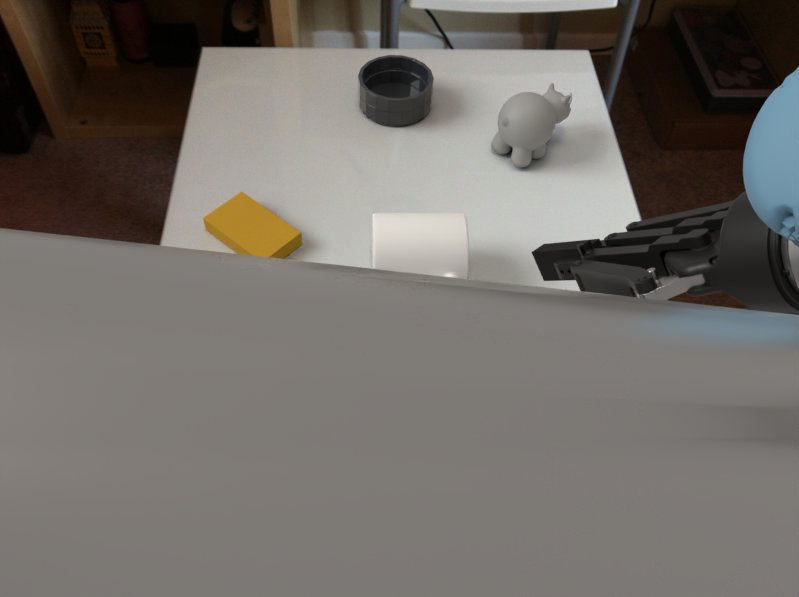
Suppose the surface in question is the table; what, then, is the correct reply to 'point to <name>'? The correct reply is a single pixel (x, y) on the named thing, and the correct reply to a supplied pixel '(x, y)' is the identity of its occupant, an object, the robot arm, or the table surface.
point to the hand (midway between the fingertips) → (544, 262)
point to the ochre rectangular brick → (252, 228)
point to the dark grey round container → (395, 90)
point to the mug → (421, 243)
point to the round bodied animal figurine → (529, 124)
